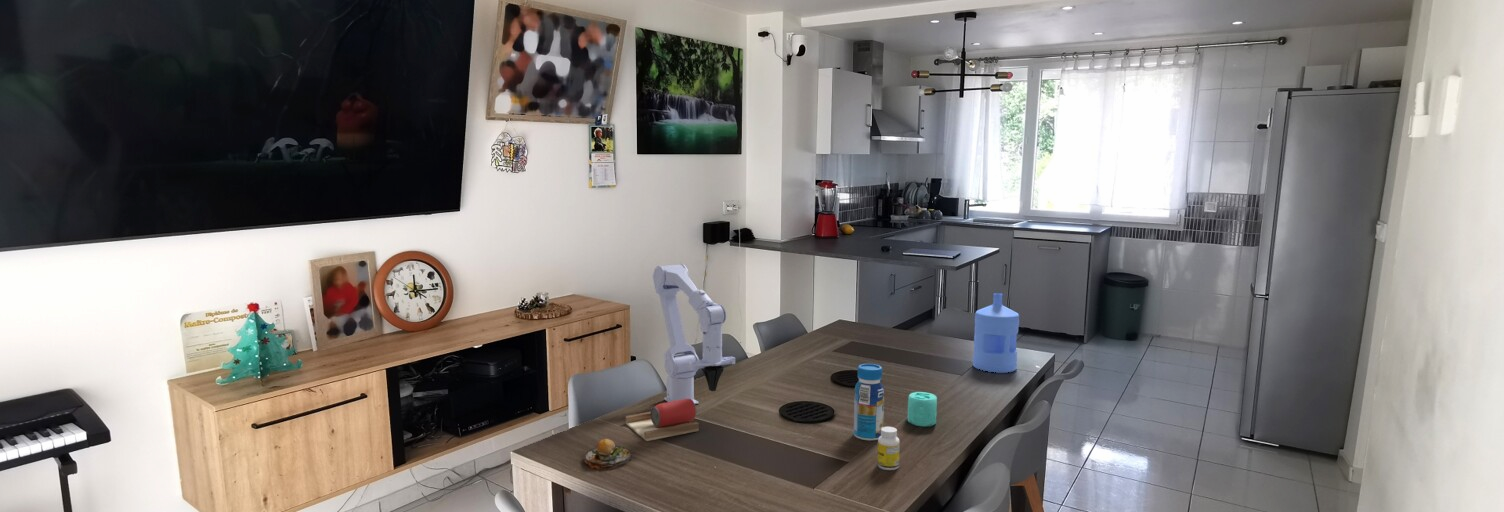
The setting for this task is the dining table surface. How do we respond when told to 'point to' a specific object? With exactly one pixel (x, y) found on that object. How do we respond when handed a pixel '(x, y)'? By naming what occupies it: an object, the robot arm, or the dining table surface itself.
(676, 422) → the beer can
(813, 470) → the dining table surface
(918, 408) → the turquoise short cylinder
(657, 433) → the birch tray
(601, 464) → the food on plate
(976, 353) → the water jug
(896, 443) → the supplement bottle
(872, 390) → the beverage bottle
